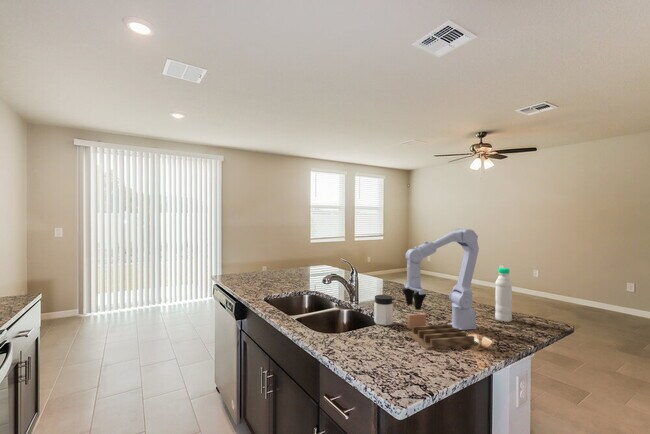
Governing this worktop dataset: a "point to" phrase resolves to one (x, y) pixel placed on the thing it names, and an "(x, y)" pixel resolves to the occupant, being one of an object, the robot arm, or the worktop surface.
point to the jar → (383, 310)
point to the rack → (441, 336)
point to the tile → (416, 320)
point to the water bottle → (503, 296)
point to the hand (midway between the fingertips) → (413, 307)
